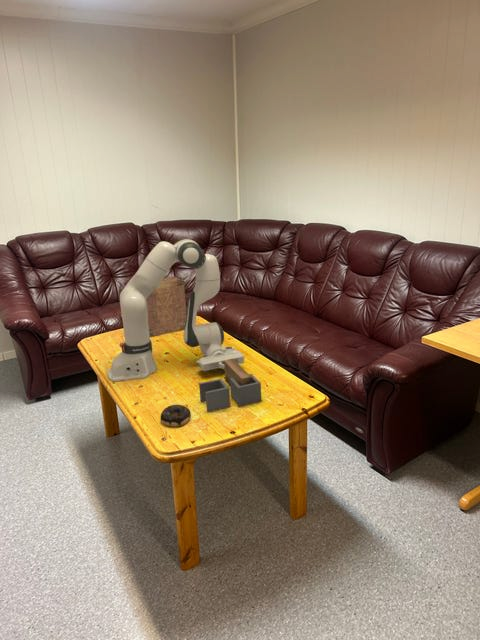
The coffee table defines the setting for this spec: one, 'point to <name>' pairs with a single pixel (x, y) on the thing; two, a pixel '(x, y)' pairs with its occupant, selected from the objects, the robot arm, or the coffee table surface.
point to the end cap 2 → (246, 392)
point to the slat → (236, 373)
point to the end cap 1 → (214, 394)
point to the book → (167, 307)
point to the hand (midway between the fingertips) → (227, 367)
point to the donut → (175, 415)
